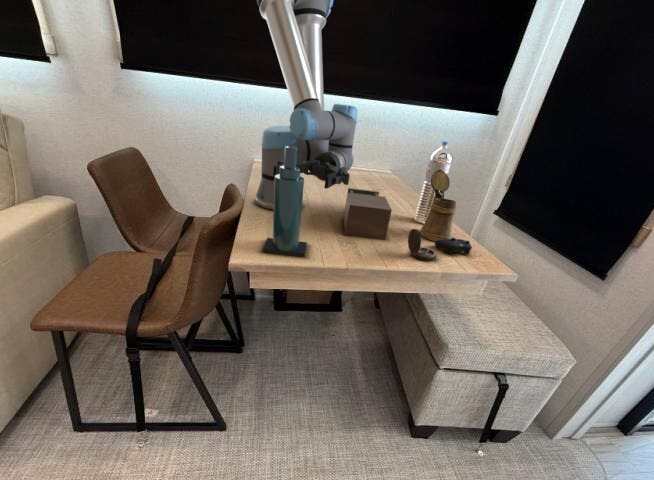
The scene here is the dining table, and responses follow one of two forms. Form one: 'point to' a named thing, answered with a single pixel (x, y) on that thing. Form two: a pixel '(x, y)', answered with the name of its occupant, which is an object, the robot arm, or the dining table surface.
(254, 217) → the dining table surface
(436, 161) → the water bottle
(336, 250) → the dining table surface
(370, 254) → the dining table surface
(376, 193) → the drawer
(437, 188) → the wooden mug
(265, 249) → the mat
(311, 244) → the dining table surface
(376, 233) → the brown wooden box
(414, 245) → the compass
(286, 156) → the bottle
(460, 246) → the game controller
